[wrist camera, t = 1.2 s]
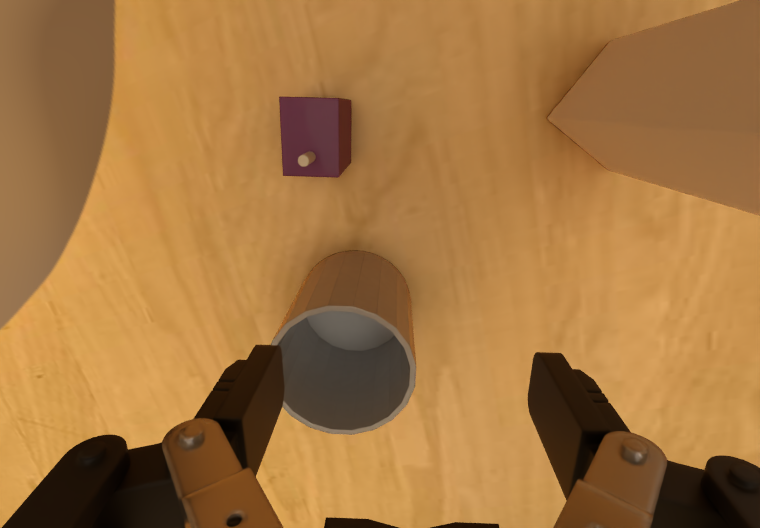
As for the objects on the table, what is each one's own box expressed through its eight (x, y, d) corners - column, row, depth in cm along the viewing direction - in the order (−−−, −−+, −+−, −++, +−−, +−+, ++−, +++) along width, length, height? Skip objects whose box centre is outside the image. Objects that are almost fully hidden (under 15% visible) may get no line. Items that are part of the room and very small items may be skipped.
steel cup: (299, 248, 34) (262, 303, 24) (413, 252, 34) (419, 308, 24) (303, 348, 37) (271, 431, 27) (407, 352, 37) (411, 437, 27)
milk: (545, 118, 30) (867, 143, 9) (611, 38, 28) (1189, -151, 8) (609, 172, 31) (1029, 301, 10) (677, 97, 29) (1348, 75, 9)
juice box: (304, 98, 30) (268, 95, 22) (351, 99, 30) (333, 97, 22) (306, 161, 32) (273, 181, 23) (351, 162, 32) (334, 183, 23)
